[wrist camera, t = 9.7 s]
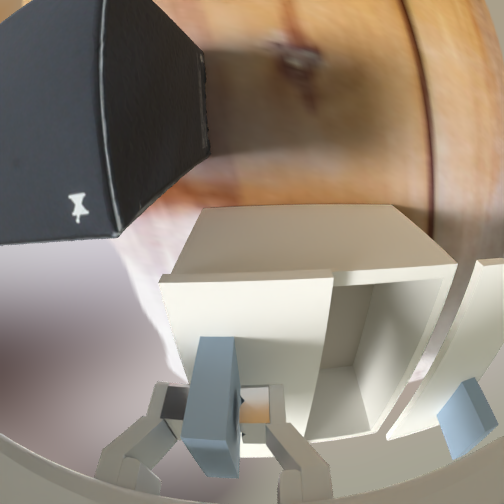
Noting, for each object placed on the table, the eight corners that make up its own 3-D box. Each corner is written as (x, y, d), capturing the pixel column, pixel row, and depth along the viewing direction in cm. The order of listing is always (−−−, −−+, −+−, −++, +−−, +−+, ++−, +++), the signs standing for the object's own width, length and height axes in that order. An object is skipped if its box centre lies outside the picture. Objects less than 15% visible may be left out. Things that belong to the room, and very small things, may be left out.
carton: (203, 208, 16) (169, 277, 9) (391, 204, 15) (457, 263, 9) (227, 371, 22) (220, 445, 16) (356, 363, 22) (376, 432, 16)
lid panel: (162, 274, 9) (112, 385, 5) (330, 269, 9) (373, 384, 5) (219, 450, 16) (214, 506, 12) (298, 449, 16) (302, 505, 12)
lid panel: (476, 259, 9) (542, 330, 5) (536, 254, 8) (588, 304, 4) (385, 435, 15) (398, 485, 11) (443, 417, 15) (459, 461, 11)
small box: (206, 42, 11) (119, -58, 2) (212, 159, 14) (136, 253, 5) (46, 87, 12) (-90, 109, 2) (56, 181, 15) (-65, 260, 5)
